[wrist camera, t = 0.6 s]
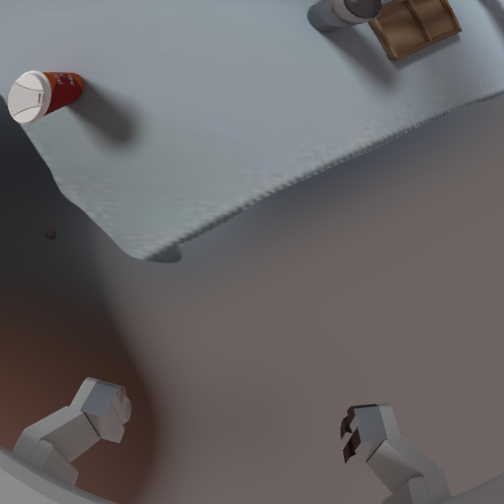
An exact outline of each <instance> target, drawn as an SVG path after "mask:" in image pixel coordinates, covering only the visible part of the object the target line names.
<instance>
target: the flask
mask: <svg viewBox="0 0 504 504" xmlns="http://www.w3.org/2000/svg"><path fill="white" fill-rule="evenodd" d="M380 12H381V1H380V0H321V1H319V2H317V3H316V4H314V5H313V6H311V7H310V9H309V10H308V14H307V17H308V21H309V23H310V24H311V25H312V26H313V27H314V28H315V29H317V30H319V31H321V32H332V31H335V30H338V29H342V28H346V27H349V26H353V25H357V24H361V23H365V22H370V21H373V20H375V19H376V18H377V17H378V16H379V15H380Z"/></svg>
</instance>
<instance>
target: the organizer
mask: <svg viewBox="0 0 504 504" xmlns="http://www.w3.org/2000/svg"><path fill="white" fill-rule="evenodd" d="M368 23H369V25H370V26H371V28H372V30H373V31H374V33H375V35H376V36H377V38H378V40H379V42H380V43H381V45H382V47H383V49H384V50H385V52H386V54H387V56H388V58H389V60H395V61H397V60H399V59H401V58H403V57H405V56H407V55H409V54H411V53H413V52H415V51H418V50H420V49H422V48H424V47H426V46H428V45H431V44H433V43H435V42H437V41H440V40H442V39H444V38H447V37H449V36H452V35H454V34H456V33H459V32H461V31H462V29H461V27H460V25H459V23H458V21H457V19H456V17H455V14H454V12H453V10H452V8H451V7H450V5H449V3H448V1H447V0H395V1H392V2H389V3H386V4H383V5H381V12H380V15H379V16H378V17H377V18H376V19H375V20H373V21H370V22H368Z"/></svg>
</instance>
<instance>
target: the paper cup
mask: <svg viewBox="0 0 504 504" xmlns="http://www.w3.org/2000/svg"><path fill="white" fill-rule="evenodd" d="M82 90H83V82H82V79H81V77H80V76H79V75H77V74H75V73H65V72H40V71H29V72H26V73H25V74H23V75H22V76H21V77H20V78H19V79H17V80H16V82H15V83H14V85H13V86H12V88H11V90H10V93H9V97H8V108H9V111H10V114H11V116H12V117H13V118H14V120H16V121H17V122H19V123H23V124H33V123H35V122H37V121H39V120H40V119H41V118H42V117H43V116H45V115H47V114H49V113H51V112H53V111H55V110H58V109H60V108H62V107H64V106H66V105H68V104H70V103H72V102H74V101H76V100H77V99H78V98H79V97H80V95H81V93H82Z"/></svg>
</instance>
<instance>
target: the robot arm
mask: <svg viewBox="0 0 504 504" xmlns="http://www.w3.org/2000/svg"><path fill="white" fill-rule="evenodd" d="M125 394H126V390H125V388H124V387H123V386H119V385H114V384H111V383H107V382H103V381H100V380H97V379H93V378H89V377H88V378H87V379H86V380H84V382H83V384H82V386H81V388H80V389H79V391H78V392H77V394H76V396H75V398H74V400H73V401H72V403H71V405H70V407H68V406H66V407H64V408H62V409H60V410H58V411H57V412H55V413H53V414H51V415H49V416H48V417H46V418H44V419H42V420H40V421H38V422H37V423H35V424H33V425H31V426H29V427H27V428H25V429H24V431H23V433H22V434H21V437H20V438H19V440H18V442H17V443H16V445H15V447H14V449H13V451H12V453H11V452H10V451H8V450H6V449H5V448H4V447H2V446H1V445H0V504H117V503H114V502H111V501H108V500H106V499H103V498H100V497H98V496H95V495H92V494H90V493H87V492H85V491H83V490H80V489H78V488H76V487H74V484H75V482H76V479H77V476H78V472H77V470H76V469H75V468H74V467H73V466H72V465H70V462H71V461H73V460H74V459H75V458H77V457H78V456H79V455H81V454H82V453H83V452H84V451H86V450H87V449H88V448H90V447H91V446H92V445H93V444H94V443H96V442H97V441H98V440H100V438H103V439H106V440H110V441H113V442H117V443H120V441H121V438H122V435H123V433H124V427H123V424H124V423H126V422H128V420H129V417H130V414H131V403H130V400H129V399H128V398H126V396H125ZM347 414H348V416H346V417H345V418H343V421H342V423H341V428H340V432H341V433H340V435H341V440H342V442H344V443H345V444H346V446H345V447H344V449H343V455H344V461H345V464H355V463H365V462H366V464H367V465H368V466H369V468H370V469H371V470H372V471H373V472H374V473H375V475H376V476H377V477H378V478H379V479H380V480H381V481H382V483H383V484H385V486H386V487H387V488H388V489H389V490H390V492H391V493H392V494H391V495H390V496H389V497H387V498H386V499H385V500H383V501H382V502H381V504H504V472H502V473H500V474H498V475H496V476H494V477H492V478H490V479H488V480H486V481H484V482H482V483H480V484H478V485H476V486H474V487H472V488H470V489H467V490H465V491H463V492H460V493H458V494H456V495H453V496H451V493H450V489H449V486H448V482H447V479H446V476H445V473H444V469H443V468H442V467H440V466H439V465H438V464H437V463H435V462H434V461H433V460H432V459H431V458H429V457H428V456H427V455H426V454H424V453H423V452H422V451H421V450H420V449H418V448H417V447H416V446H415V445H414V444H413V443H411V442H410V441H409V440H408V439H407V438H405V437H401V435H400V432H399V429H398V426H397V422H396V419H395V416H394V413H393V410H392V407H391V405H390V404H389V403H382V404H368V405H358V406H351V407H349V409H348V411H347Z"/></svg>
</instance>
